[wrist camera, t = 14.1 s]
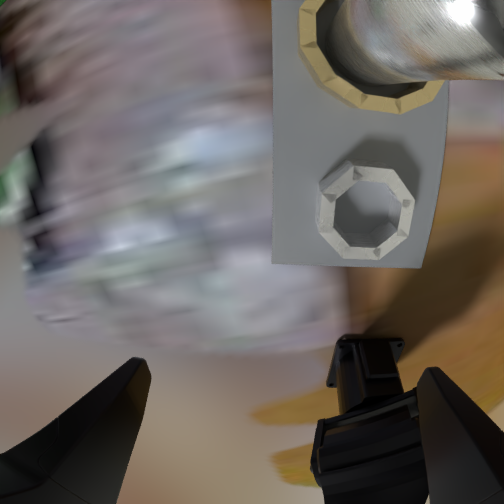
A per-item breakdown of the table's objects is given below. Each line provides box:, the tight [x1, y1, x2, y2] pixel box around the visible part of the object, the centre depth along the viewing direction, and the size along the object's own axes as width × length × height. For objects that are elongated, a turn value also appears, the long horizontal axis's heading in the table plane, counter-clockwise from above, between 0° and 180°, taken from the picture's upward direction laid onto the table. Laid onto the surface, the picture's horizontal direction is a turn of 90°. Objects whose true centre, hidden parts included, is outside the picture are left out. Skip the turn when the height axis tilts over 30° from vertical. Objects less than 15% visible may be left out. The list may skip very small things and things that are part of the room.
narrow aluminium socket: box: [316, 159, 415, 260], centre depth 17 cm, size 6×6×2 cm
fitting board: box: [272, 0, 448, 268], centre depth 16 cm, size 19×11×1 cm, turn 1°
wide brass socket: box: [297, 0, 445, 114], centre depth 12 cm, size 8×8×2 cm
